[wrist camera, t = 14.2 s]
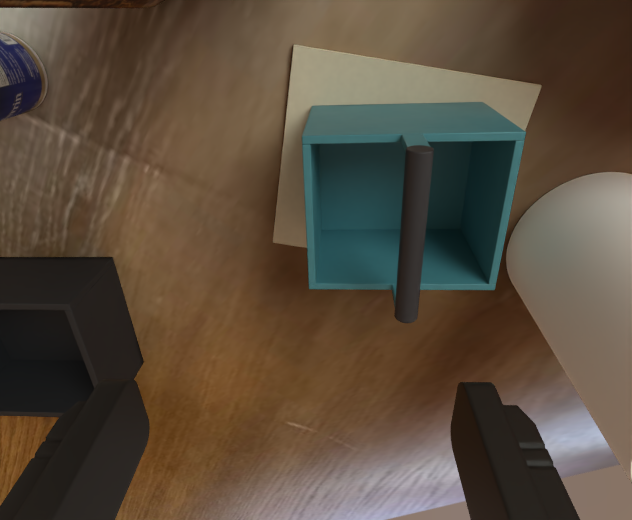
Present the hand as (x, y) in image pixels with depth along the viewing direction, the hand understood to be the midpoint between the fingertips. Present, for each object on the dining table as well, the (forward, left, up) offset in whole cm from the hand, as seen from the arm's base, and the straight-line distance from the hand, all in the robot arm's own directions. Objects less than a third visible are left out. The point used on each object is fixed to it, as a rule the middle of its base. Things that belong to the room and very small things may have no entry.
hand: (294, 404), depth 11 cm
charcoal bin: (-24, -22, -27) cm, 43 cm away
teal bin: (+5, -2, -27) cm, 27 cm away
